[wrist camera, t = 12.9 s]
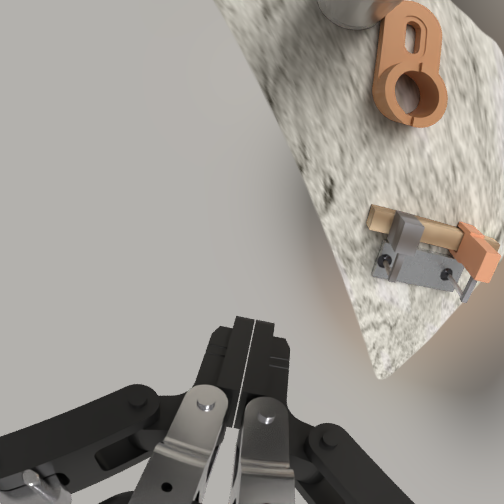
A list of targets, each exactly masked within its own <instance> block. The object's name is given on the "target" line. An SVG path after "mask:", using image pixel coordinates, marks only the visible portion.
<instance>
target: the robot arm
mask: <svg viewBox="0 0 504 504" xmlns="http://www.w3.org/2000/svg"><path fill="white" fill-rule="evenodd" d="M402 1H403V0H318V4H319V7H320V9H321V11H322V12H323V14H324V15H325V16H326V17H327V18H328V19H329V20H330V21H332V22H333V23H334V24H336V25H338V26H340V27H343V28H346V29H351V30H362V29H367V28H369V27H372V26H374V25H375V24H376V23H377V22H379V21H380V20H381V19H382V18H383V17H385V16H386V15H387V14H388V13H389V12H390V11H391V10H393V9H394V8H395V7H396V6H397V5H399V4H400V3H401V2H402ZM253 325H254V319H249V318H244V317H239V316H236V319H235V322H234V326H233V328H228V327H223V326H220V327H219V328H218V329H216V330H215V332H213V333H212V335H211V338H210V341H209V344H208V347H207V350H206V353H205V355H204V358H203V361H202V364H201V367H200V370H199V372H198V375H197V378H196V381H195V383H194V385H193V387H192V388H191V389H190V390H188V391H187V392H185V393H183V394H180V395H175V396H158V395H157V394H156V392H155V391H154V390H153V389H151V388H150V387H148V386H145V385H141V384H133V385H129V386H127V387H124V388H122V389H120V390H118V391H115V392H113V393H111V394H108V395H106V396H104V397H101V398H99V399H97V400H94V401H92V402H90V403H87V404H85V405H82V406H80V407H78V408H75V409H73V410H70V411H68V412H65V413H63V414H60V415H58V416H55V417H53V418H50V419H48V420H45V421H42V422H40V423H37V424H34V425H32V426H29V427H26V428H24V429H21V430H18V431H16V432H12V433H10V434H7V435H4V436H1V437H0V503H1V504H71V500H72V499H71V494H72V493H75V492H77V491H79V490H82V489H84V488H86V487H89V486H91V485H93V484H96V483H98V482H100V481H102V480H104V479H107V478H109V477H111V476H113V475H115V474H117V473H119V472H121V471H123V470H125V469H127V468H129V467H131V466H133V465H135V464H137V463H139V462H141V461H143V460H145V459H147V458H149V457H150V459H149V461H148V463H147V465H146V467H145V469H144V472H143V474H142V476H141V478H140V480H139V482H138V484H137V486H136V489H135V490H134V491H129V492H124V493H121V494H118V495H115V496H113V497H111V498H109V499H107V500H105V501H103V502H101V503H99V504H202V501H203V497H204V494H205V490H206V487H207V483H208V480H209V477H210V475H211V472H212V469H213V466H214V463H215V460H216V457H217V454H218V451H219V448H220V445H221V443H222V441H223V439H224V435H225V431H226V427H232V425H233V421H234V416H235V411H236V407H237V402H238V397H239V393H240V388H241V383H242V379H243V374H244V369H245V364H246V359H247V354H248V350H249V345H250V340H251V335H252V330H253ZM273 332H274V323H270V322H265V321H260V320H256V324H255V328H254V333H253V338H252V342H251V347H250V352H249V357H248V362H247V367H246V372H245V377H244V382H243V387H242V391H241V396H240V401H239V406H238V410H237V415H236V420H235V425H234V428H237V429H239V434H238V439H237V443H236V447H235V455H234V465H233V474H232V483H231V492H230V497H229V503H228V504H295V488H296V489H297V490H298V491H299V493H300V494H301V495H302V496H303V498H304V499H305V500H306V501H307V503H308V504H414V502H413V501H411V500H410V498H408V496H407V495H406V494H404V492H403V491H402V490H401V489H400V488H399V487H398V486H397V485H396V484H395V483H394V482H393V481H392V480H391V479H390V478H389V477H388V476H387V475H386V474H385V473H384V472H383V471H382V469H380V467H379V466H378V465H377V464H376V463H375V462H374V461H373V460H372V459H371V458H370V457H369V456H368V455H367V454H366V452H365V451H364V450H363V449H362V448H361V447H360V446H359V445H358V444H357V443H356V442H355V441H354V439H353V438H352V437H351V436H350V435H349V434H348V433H347V432H346V431H345V430H344V429H343V428H342V427H340V426H338V425H335V424H332V423H323V424H320V425H318V426H316V427H314V426H311V425H309V424H307V423H304V422H302V421H300V420H298V419H297V418H295V417H294V416H293V415H292V414H291V412H290V411H289V409H288V407H287V386H288V374H289V358H290V348H289V346H288V343H287V341H286V339H284V338H279V337H273Z"/></svg>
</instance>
